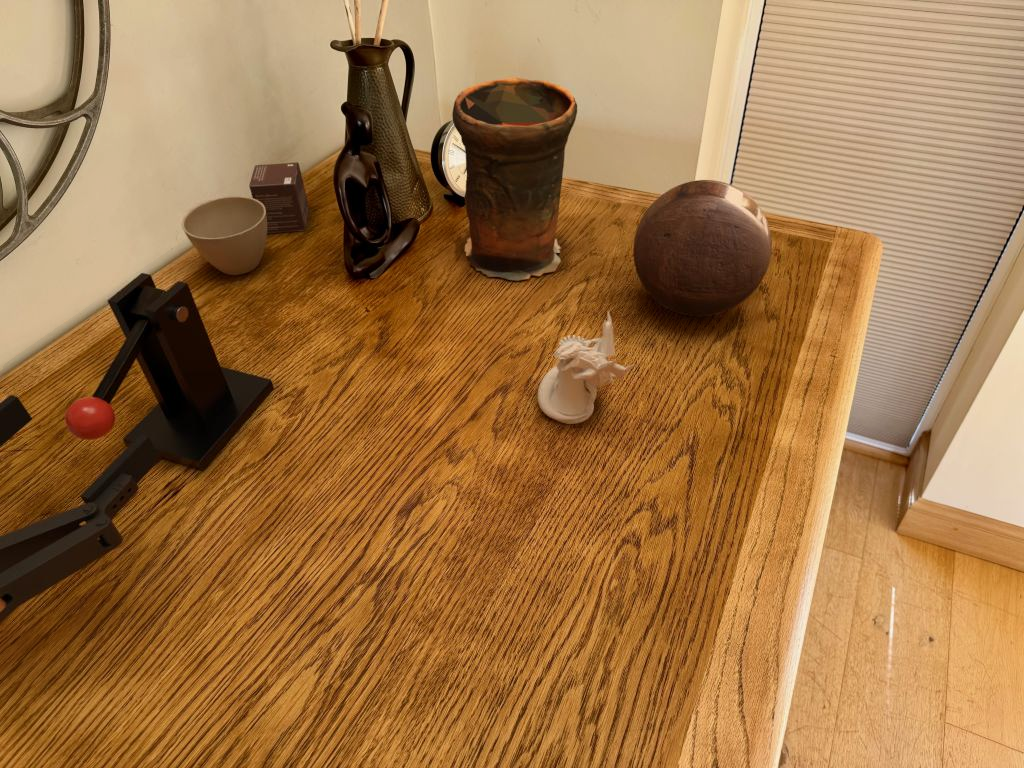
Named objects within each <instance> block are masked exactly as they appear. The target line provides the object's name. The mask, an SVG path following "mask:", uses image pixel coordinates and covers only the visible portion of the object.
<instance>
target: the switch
mask: <svg viewBox="0 0 1024 768" xmlns="http://www.w3.org/2000/svg"><path fill="white" fill-rule="evenodd" d="M166 291H167V290H165V289H162V288H157V287H156V288H153V287H149V286H145V287H144V288H143V290H142V291H141V293H140V295H139V296H138V298H137V300H136V301H135V303H134V305H133V306H132V308H131V310H130V313H131V314H133V315H134V316H135V317H136V318H137V319H138V320H137V322H136V323H135V325H134V327H133V328H132V330H131V332H130V334H129V335H128V337H127V339H126V338H125V340H124V342H123V343H122V345H121V347H120V349H119V350H118V352H117V354H116V355H115V357H114V358H113V361H112V362H111V364H110V366H108V369H107V370H106V372H105V374H104V376H103V377H102V379H101V380H100V382H99V384H98V386H97V388H96V389H95V390H94V393H93V394H92V396H84V397H81V398H79V399H77V400H75V401H74V402H72V403H71V404H70V405H69V406H68V408H67V410H66V412H65V415H64V423H65V426H66V428H67V430H68V431H69V432H70V433H71V434H72V435H73V436H75V438H79V439H81V440H84V441H85V440H86V441H93V440H98V439H101V438H103V437H105V436H106V435H108V433H109V432H110V431H112V429H113V427H114V426H115V425H114V424H115V422H116V413H115V411H114V409H113V407H112V406H111V403H112V401H113V399H114V398H115V396H116V394H117V392H118V391H119V389H120V387H121V386H122V384H123V382H124V381H125V379H126V377H127V375H128V373H129V372H130V371H131V368H132V366H133V365H134V363H135V361H137V359H136V358H137V356H138V354H139V353H140V351H141V349H142V347H143V346H144V344H145V342H146V341H147V339H148V337H149V335H150V334H151V332H152V330H153V326H152V324H151V322H150V320H149V318H148V315H147V313H146V311H145V309H146V308H147V307H148V306H150V305H151V304H152V303H153V302H154V301H156V300H157V299H158V298H159V297H160V296H161V295H163V294H164V293H165V292H166Z"/></svg>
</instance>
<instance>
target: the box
mask: <svg viewBox="0 0 1024 768" xmlns="http://www.w3.org/2000/svg"><path fill="white" fill-rule="evenodd" d="M248 187H249V190H250V193H251V198H254V199H256V200H258V201H260V202H261V203H262V204H263V205H264V206H265V209H266V216H267V234H276V233H286V232H304V231H306V230H307V225H308V219H309V213H310V206H309V201H308V198H307V193H306V188H305V184H304V180H303V175H302V171H301V168H300V163H299V162H286V163H285V162H284V163H283V162H282V163H269V164H267V163H266V164H256V165H254V168H253V172H252V175H251V178H250V181H249V185H248Z"/></svg>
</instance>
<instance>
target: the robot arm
mask: <svg viewBox="0 0 1024 768" xmlns="http://www.w3.org/2000/svg"><path fill="white" fill-rule="evenodd" d="M31 421H33V417H32V416H31V415H30V413H29V411H28V410H27V409H26V407H25V406H24V404H23V403H22V402H21V400H20V398H19V397H18V396H16V395H12V394H10V395H8V396H7V397H6V398H5V399H3V400H2V401H1V402H0V448H2V447H3V446H4V445H5V444H6V443H7V442H8V441H9V440H10V439H11V438H13V437H14V436H15V435H16V434H17V433H19V432H20V431H21V430H22V429H24V427H25V426H26V425H27V424H29V423H30V422H31ZM161 459H162V458H160V456H159V454H158V452H157V451H156V449H155V447H154V445H153V443H152V441H151V439H150V438H149V436H147V435H143V434H140V435H139V436H138V437H137V438H136V439H135V441H134V442H133V443H132V444H131V445H130V446H129V447H126V448H125V449H124V451H122V452H121V453H120V455H118V457H117V458H116V459H115V460H114V461H112V462H111V464H110V465H109V466H108V467H107V468H106V469H104V471H102V473H100V475H99V476H98V477H97V478H96V479H95V480H94V481H93V482H92V483H91V484H90V485H89V486H88V487H87V488H86V489H85V490H84V491H83V492H82V493H81V494H80V495H79V497H80V498H81V499H82V501H83V502H84V503H83V504H81V505H78V506H76V507H73V508H70V509H68V510H65V511H62V512H60V513H58V514H55V515H52V516H50V517H47V518H43V519H42V520H39V521H36V522H34V523H32V524H28V525H26V526H23V527H21V528H18V529H16V530H13V531H10V532H8V533H5V534H3V535H0V624H1V623H2V622H3V621H4V620H5V619H6V618H7V617H8V616H10V615H11V614H12V613H13V612H14V611H15V610H16V609H17V608H19V607H20V606H22V605H23V604H25V603H27V602H28V601H30V600H31V599H33V598H35V597H36V596H38V595H40V594H42V593H44V592H45V591H46V590H48V589H50V588H53V586H55V585H57V584H58V583H61V582H62V581H63V580H65V579H67V578H69V577H70V576H72V575H74V574H75V573H77V572H78V571H81V570H82V569H83V568H86V567H87V566H88V565H90V564H92V563H93V562H96V561H97V560H98V559H100V558H102V557H103V556H105V555H107V554H109V553H110V552H112V551H114V550H115V549H117V548H119V547H120V546H121V545H122V543H124V538H123V536H122V533H120V531H119V530H118V528H117V526H116V525H115V524H114V522H113V520H114V517H116V516H117V514H118V513H120V511H121V510H122V509H123V508H124V507H125V506H126V505H127V504H128V502H130V500H131V499H132V498H133V497H134V496H135V495H136V494H137V493H138V489H139V486H138V484H139V483H140V481H142V480H143V478H144V477H145V476H146V475H147V474H148V473H149V472H150V471H151V470H152V469H153V467H154V466H155V465H156V464H157V463H158V462H159V461H160V460H161ZM82 523H85V524H82Z"/></svg>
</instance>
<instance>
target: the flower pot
mask: <svg viewBox="0 0 1024 768" xmlns="http://www.w3.org/2000/svg"><path fill="white" fill-rule="evenodd" d="M181 228H182V230H183V232H184V234H185V236H186V237H187V238H188V239H187V240H189V242H190V243H191V244H192V246H193V247H194V249H195V250H196V251H197V252H198V253H199V255H201V256H202V258H204V260H206V261H207V262H208V263H209V264H210V265H211V266H213V267H214V268H215V269H217V270H218V271H220V272H221V273H223V274H226V275H229V276H239V275H244V274H248V273H250V272H251V271H253V270H255V269H256V268H258V266H259V264H260V263H261V261H262V258H263V255H264V252H265V248H266V243H267V238H268V233H267V216H266V209H265V206H264V205H263V204H262V203H261V202H260V201H258V200H256V199H254V198H252V197H250V196H246V195H245V196H244V195H229V196H221V197H217V198H212V199H209V200H206V201H204V202H202V203H199V204H198V205H195V206H194V207H192V208H191V209H190V210H189V211H188V212H186V214H185V215H184V216H183V218H182V220H181Z"/></svg>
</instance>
